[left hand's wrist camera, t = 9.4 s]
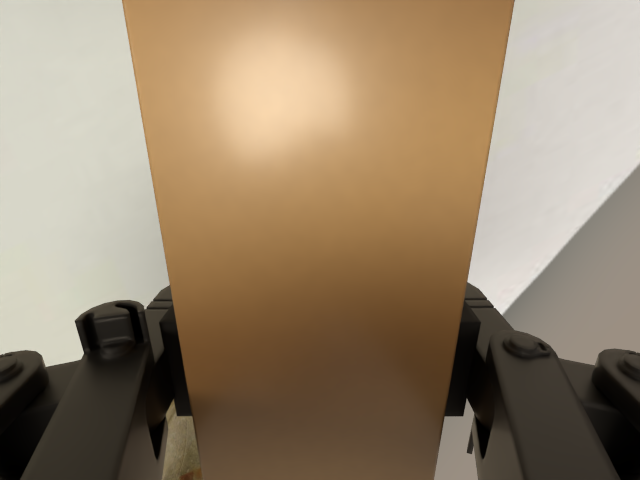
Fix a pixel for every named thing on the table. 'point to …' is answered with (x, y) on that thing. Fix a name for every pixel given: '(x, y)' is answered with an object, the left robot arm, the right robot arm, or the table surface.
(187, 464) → the sculpture
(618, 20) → the table surface
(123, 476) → the left robot arm
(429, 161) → the bar
